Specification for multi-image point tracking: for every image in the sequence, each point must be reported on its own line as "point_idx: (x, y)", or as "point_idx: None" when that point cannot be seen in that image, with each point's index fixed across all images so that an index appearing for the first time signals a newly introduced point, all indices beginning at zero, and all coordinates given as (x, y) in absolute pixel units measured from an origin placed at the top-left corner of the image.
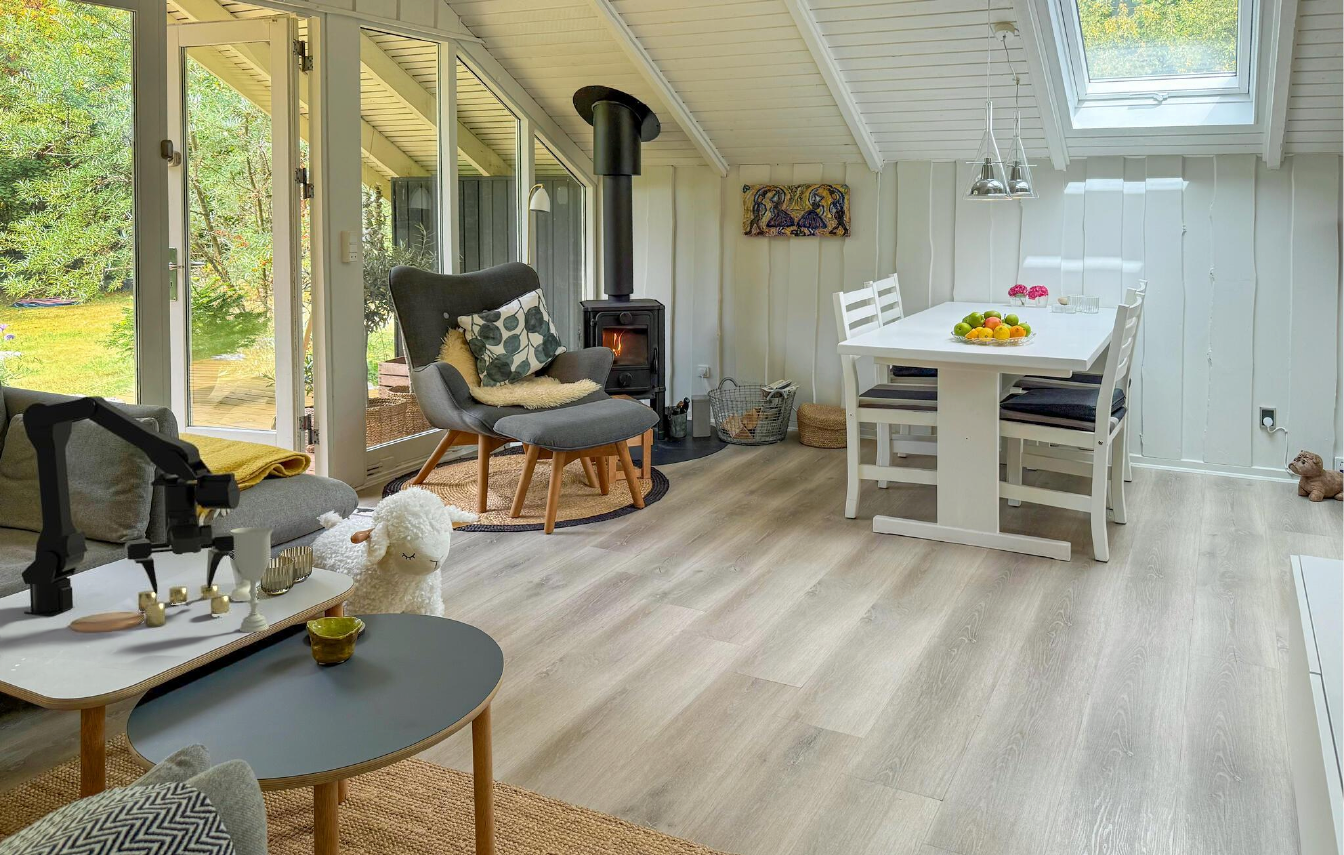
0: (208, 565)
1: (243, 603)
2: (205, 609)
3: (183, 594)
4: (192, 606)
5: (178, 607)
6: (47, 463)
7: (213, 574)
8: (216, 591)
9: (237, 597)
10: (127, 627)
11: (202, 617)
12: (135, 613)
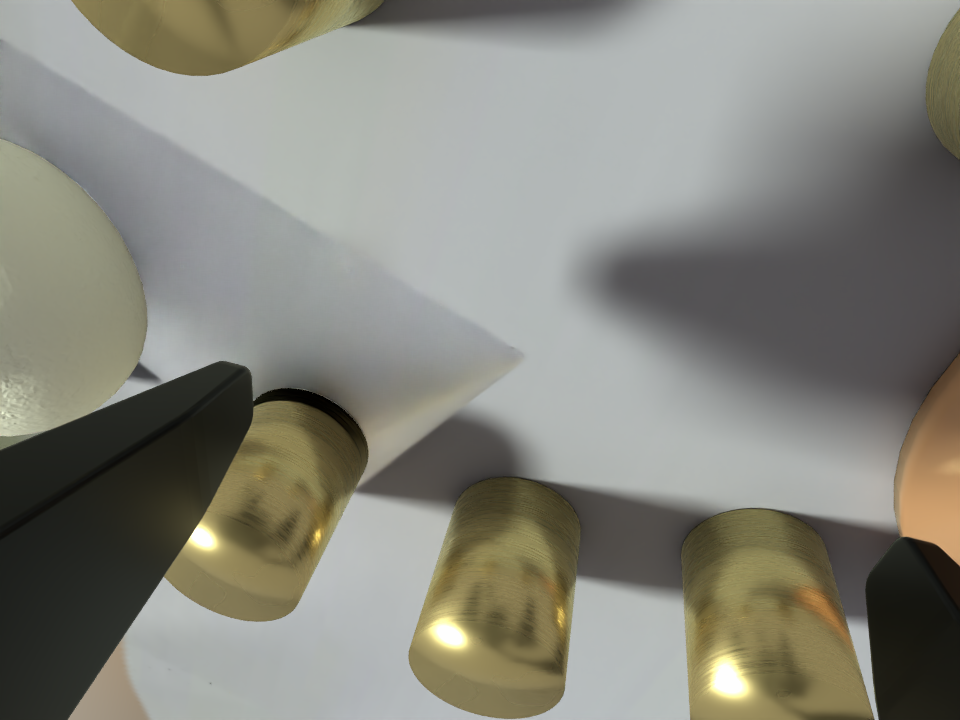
0: (19, 693)
1: None
2: (361, 367)
3: (472, 576)
4: (417, 509)
5: None
6: None
7: (38, 446)
8: None
9: (36, 233)
10: None
11: (472, 74)
12: (933, 533)
